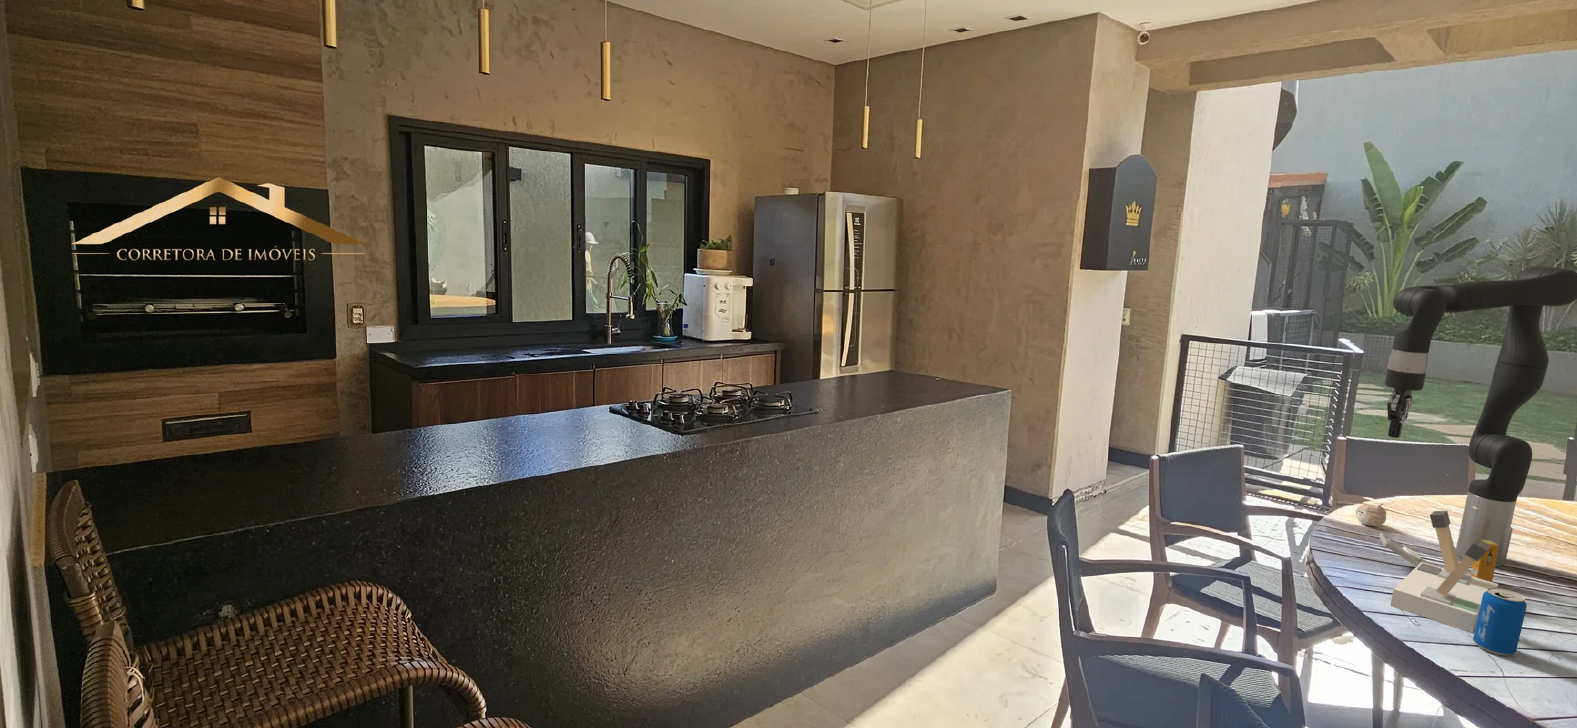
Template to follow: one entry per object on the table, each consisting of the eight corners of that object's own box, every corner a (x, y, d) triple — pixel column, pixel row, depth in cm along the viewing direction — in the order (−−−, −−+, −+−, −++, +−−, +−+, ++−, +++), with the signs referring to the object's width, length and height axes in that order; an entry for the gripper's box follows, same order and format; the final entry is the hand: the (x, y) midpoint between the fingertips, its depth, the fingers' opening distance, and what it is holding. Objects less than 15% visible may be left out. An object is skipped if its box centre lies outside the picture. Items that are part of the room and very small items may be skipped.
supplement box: (1484, 578, 187) (1493, 540, 185) (1492, 584, 184) (1500, 545, 182) (1467, 576, 188) (1476, 538, 186) (1475, 582, 185) (1483, 543, 183)
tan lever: (1433, 590, 167) (1473, 543, 161) (1438, 584, 169) (1478, 538, 163) (1446, 597, 165) (1487, 550, 159) (1450, 592, 168) (1491, 545, 162)
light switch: (1444, 575, 184) (1389, 540, 188) (1427, 591, 186) (1373, 555, 190) (1436, 563, 191) (1383, 529, 195) (1420, 578, 193) (1368, 544, 197)
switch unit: (1390, 605, 171) (1394, 586, 171) (1418, 577, 186) (1421, 559, 186) (1472, 632, 161) (1476, 612, 160) (1494, 600, 176) (1498, 581, 175)
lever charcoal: (1444, 572, 177) (1429, 514, 179) (1448, 567, 180) (1434, 510, 181) (1457, 573, 176) (1442, 514, 177) (1462, 568, 178) (1447, 510, 180)
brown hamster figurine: (1358, 526, 218) (1363, 500, 216) (1351, 519, 223) (1356, 493, 222) (1386, 531, 215) (1391, 504, 214) (1379, 523, 221) (1384, 497, 219)
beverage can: (1463, 640, 158) (1475, 586, 155) (1492, 639, 158) (1504, 586, 156) (1494, 658, 151) (1507, 601, 149) (1524, 657, 152) (1537, 601, 150)
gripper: (1418, 374, 182) (1405, 444, 185) (1432, 369, 190) (1419, 436, 193) (1380, 369, 187) (1367, 437, 191) (1395, 364, 196) (1383, 429, 199)
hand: (1393, 436), depth 192 cm, fingers closed
